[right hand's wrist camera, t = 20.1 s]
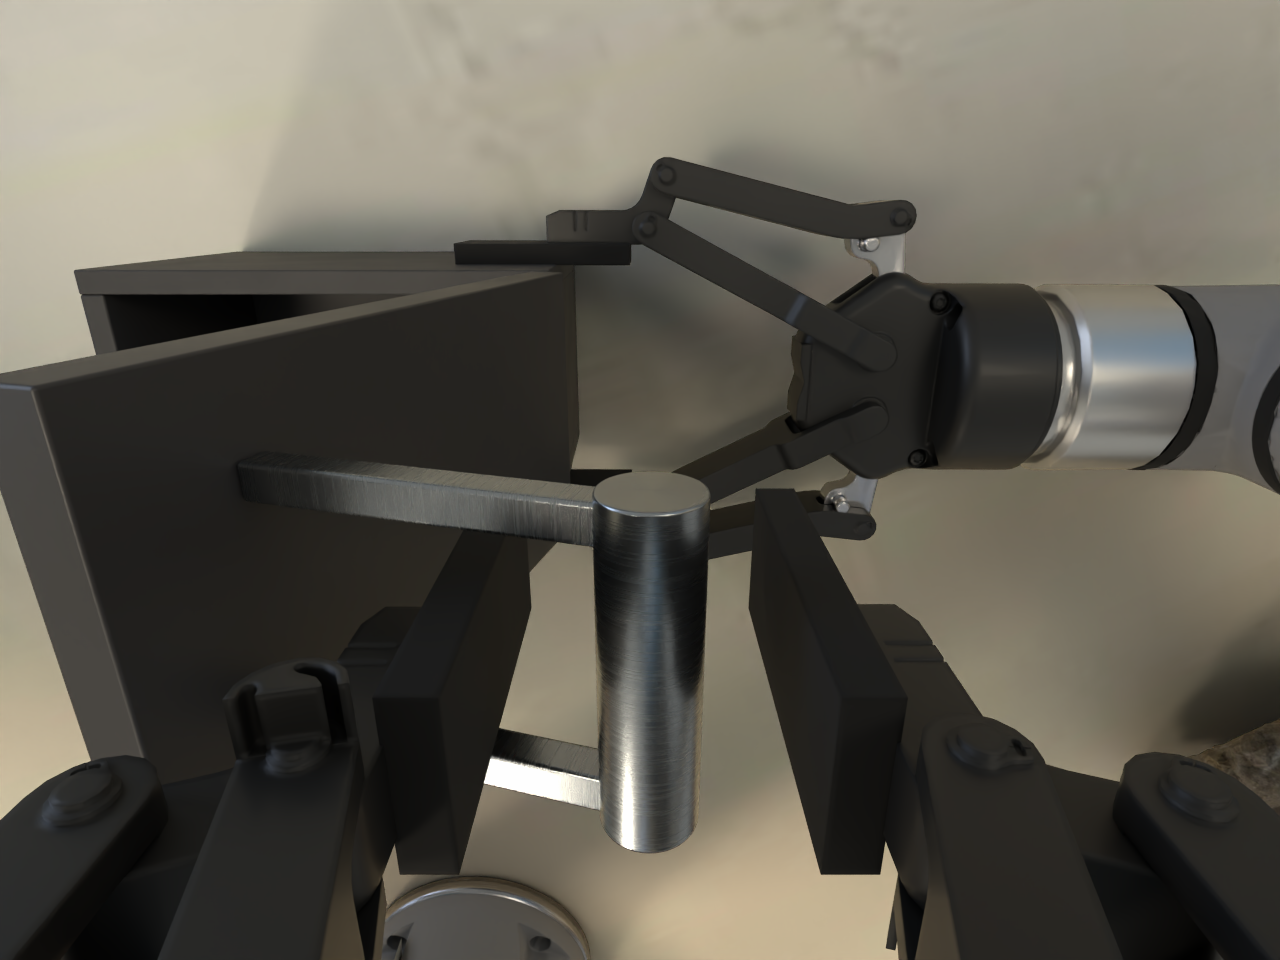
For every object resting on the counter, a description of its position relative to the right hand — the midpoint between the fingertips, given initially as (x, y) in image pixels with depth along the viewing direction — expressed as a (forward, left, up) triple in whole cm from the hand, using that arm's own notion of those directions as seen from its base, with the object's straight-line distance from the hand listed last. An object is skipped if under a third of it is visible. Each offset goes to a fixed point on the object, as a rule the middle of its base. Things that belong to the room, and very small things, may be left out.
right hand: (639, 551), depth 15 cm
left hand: (-4, +6, -16) cm, 18 cm away
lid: (-3, +5, -4) cm, 7 cm away
